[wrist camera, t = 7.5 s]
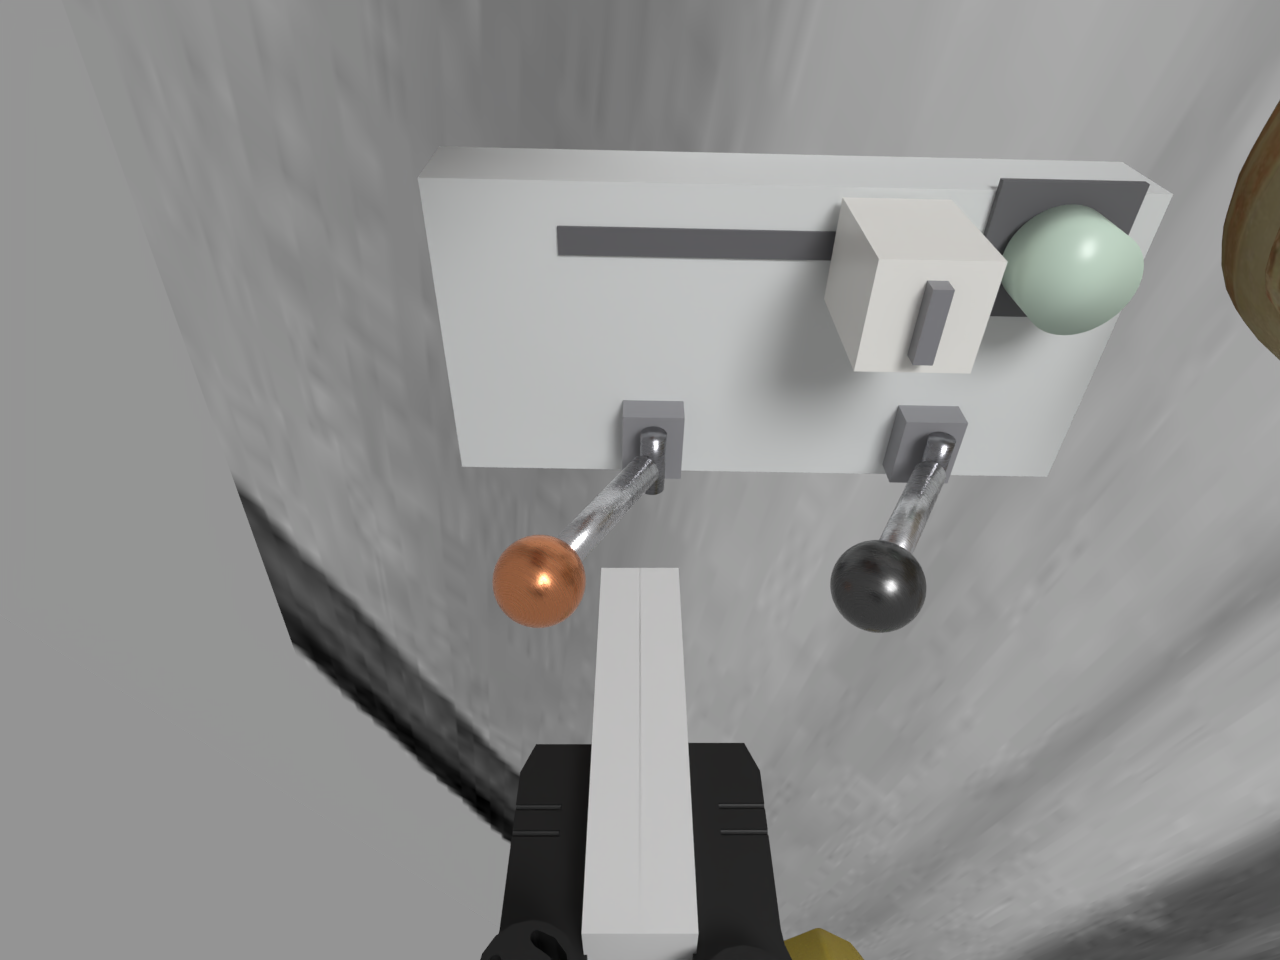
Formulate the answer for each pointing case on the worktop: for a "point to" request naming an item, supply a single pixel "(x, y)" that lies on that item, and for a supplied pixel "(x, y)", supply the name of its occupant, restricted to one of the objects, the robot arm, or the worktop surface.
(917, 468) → the toggle black
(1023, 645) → the worktop surface
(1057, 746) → the worktop surface
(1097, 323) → the button green
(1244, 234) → the ceramic vessel
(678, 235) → the panel
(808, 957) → the flower pot
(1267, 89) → the worktop surface
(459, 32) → the worktop surface
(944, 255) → the fader knob
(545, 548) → the toggle orange
